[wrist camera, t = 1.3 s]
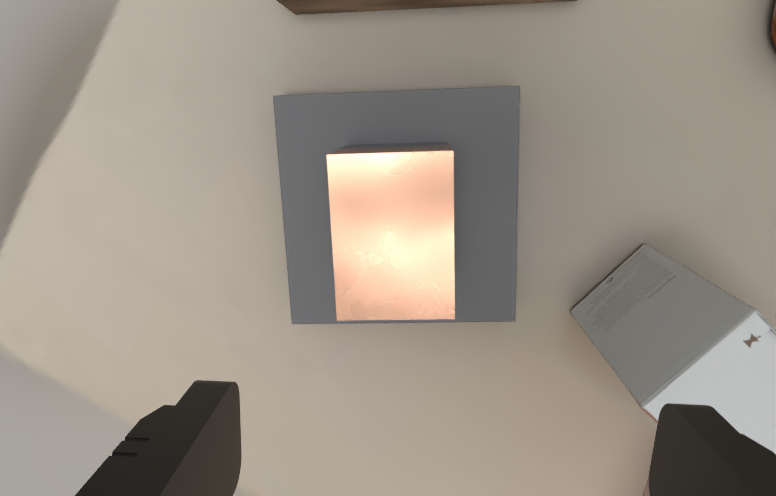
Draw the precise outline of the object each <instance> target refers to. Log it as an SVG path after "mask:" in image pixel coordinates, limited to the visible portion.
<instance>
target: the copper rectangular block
mask: <svg viewBox="0 0 776 496" xmlns="http://www.w3.org/2000/svg"><path fill="white" fill-rule="evenodd" d="M327 170H328V186H329V202H330V218H331V234H332V250H333V266H334V282H335V298H336V315H337V321H348V320H427V319H455V270H454V152H453V149H452V148H451V146H450V145H449V144H448V142H418V143H388V144H358V145H345V146H343V147H341V148H339V149H337V150H335V151H333V152H331V153H329V154H327Z"/></svg>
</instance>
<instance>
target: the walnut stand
mask: <svg viewBox="0 0 776 496" xmlns="http://www.w3.org/2000/svg"><path fill="white" fill-rule="evenodd" d="M277 1H278V2H279V3H281V4H282V5H284V6H285V7H286V8H288V9H289V10H290V11H292V12H293V13H294V14H316V13H337V12H357V11H377V10H397V9H418V8H438V7H458V6H479V5H499V4H519V3H540V2H560V1H577V0H277Z"/></svg>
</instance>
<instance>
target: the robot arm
mask: <svg viewBox="0 0 776 496" xmlns="http://www.w3.org/2000/svg"><path fill="white" fill-rule="evenodd" d="M240 467H241V428H240V398H239V388H238V385H237V383H236V382H223V381H202V380H196V381H195V382H194V383H193V384H192V385H191V386H190V388H189V389H188V390H187V392H186V393H185V394H184V395H183V397H182V398H181V399H180V400H179V402H178V403H177V404H176V406H172V405H164V406H162V407H160V408H159V409H157V410H155V411H154V412H152V413H150V414H149V415H147V416H145V417H144V418H142V419H140V421H139V422H138V423H137V424H136V425H135V426H134V428H133V429H132V430H131V431H130V432H129V433H128V435H127V436H126V437H125V441H122V442H121V443H120V444H119V445H118V446H117V447H116V449H115V450H114V451H113V453H112V456H109V457H108V458H107V459H106V460H105V461H104V462H103V464H102V465H101V466H100V467H99V468H98V469H97V471H96V472H95V473H94V474H93V475H92V477H91V478H90V479H89V480H88V481H87V482H86V484H85V485H84V486H83V487H82V488H81V489H80V491H79V492H78V493H77V494H76V495H75V496H233V494H234V492H235V489H236V486H237V483H238V479H239V474H240ZM649 494H650V496H776V454H775V453H774V452H773V451H771V450H769V449H767V448H766V447H764V446H762V445H761V444H759V443H757V442H756V441H754V440H752V439H751V438H749V437H747V436H745V435H744V434H740V433H739V432H738V431H737V430H736V429H735V428H734V427H733V426H732V425H731V424H730V423H729V422H728V421H727V420H726V419H725V418H723V417H722V416H721V415H720V414H719V413H718V412H717V411H716V410H715V409H714V408H713V407H711V406H709V405H694V404H672V403H667V404H665V405H664V406H663V407H662V409H661V411H660V414H659V418H658V424H657V430H656V436H655V442H654V448H653V454H652V460H651V466H650V472H649Z"/></svg>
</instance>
